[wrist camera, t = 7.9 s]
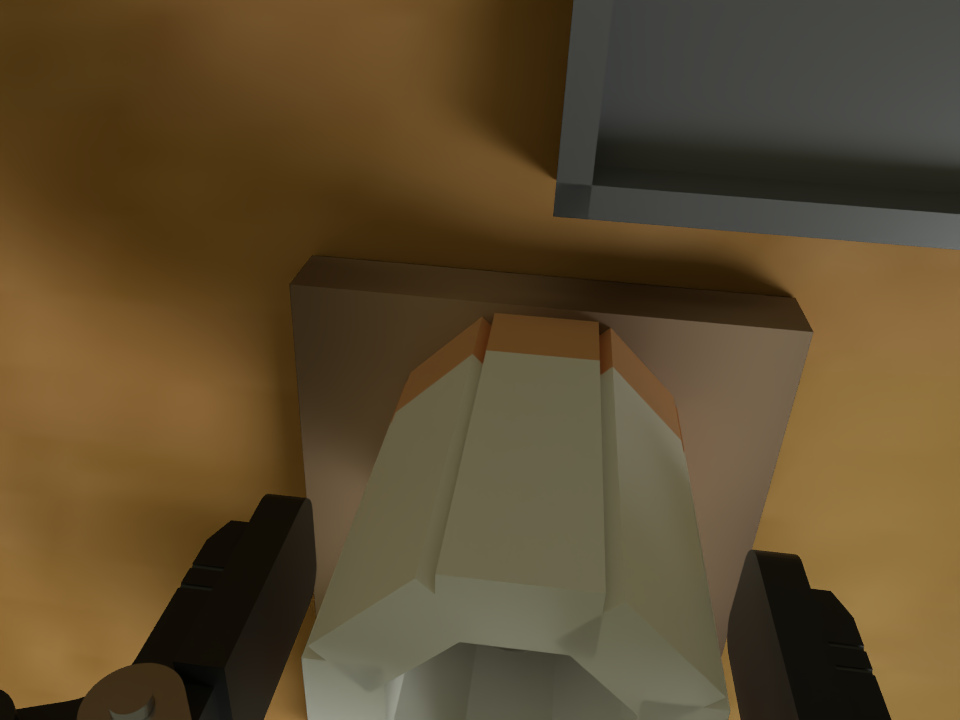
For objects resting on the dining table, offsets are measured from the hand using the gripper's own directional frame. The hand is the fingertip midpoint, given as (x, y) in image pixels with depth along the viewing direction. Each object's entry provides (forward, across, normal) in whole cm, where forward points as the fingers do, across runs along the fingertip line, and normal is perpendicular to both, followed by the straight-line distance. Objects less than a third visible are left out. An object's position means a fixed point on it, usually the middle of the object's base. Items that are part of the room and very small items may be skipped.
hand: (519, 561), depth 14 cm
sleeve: (+4, 0, 0) cm, 4 cm away
